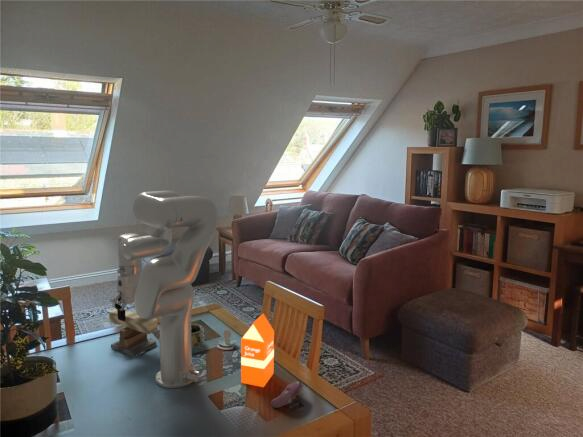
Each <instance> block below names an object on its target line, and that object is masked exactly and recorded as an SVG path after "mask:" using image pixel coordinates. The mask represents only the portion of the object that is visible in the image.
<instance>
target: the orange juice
mask: <svg viewBox="0 0 583 437" xmlns="http://www.w3.org/2000/svg"><path fill="white" fill-rule="evenodd" d="M240 343H241V344H240V345H241V346H240V347H241V348H240V354H241V356H240V378H241V379H240V382H241V383H242V384H246V385H250V386H251V385H252V386H255V387H260V388H264V387H265V386H266V384H267V383H268V382H269V380H270V379H271V377H273V375H274V369H275V368H274V365H275V362H274V361H275V360H274V358H275V330H274V329H273V327H272V325H271V323H270V322H269V320H268V319H267V317H266V315H265V314H264V313H262V314H261V315H259V317H258V318H256V319H255V320H254V321H253V322H252V325H250V327H249V329H248V330H247V331H246V332H245V333H244V334H243V336H242V337H241V339H240Z"/></svg>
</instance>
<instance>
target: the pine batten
mask: <svg viewBox="0 0 583 437" xmlns="http://www.w3.org/2000/svg"><path fill="white" fill-rule="evenodd" d="M124 310H125V316H126V320H125V321H121V320H118V314H117V309H115V308H114V309H113V310H110V311H108V319H109V321H108V322H109V323H112V324H114V325H118V326H120V327H121V326H122V327H124V328H126V327H127V328H130V329H134V330H137V331H140V332H143V333H147V335H151V334H153V333H154V332H157V331H159V328H158V327H159V326H158V318H153V319H142V318H141V317H139V316H138V315H137V313H136V312H133V311H129V310H126V309H124Z"/></svg>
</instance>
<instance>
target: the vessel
mask: <svg viewBox="0 0 583 437" xmlns="http://www.w3.org/2000/svg"><path fill="white" fill-rule="evenodd" d="M202 330H203V326H202V325H200V324H197V323H191V350H194V349H198V348H199V347H201V346H202V343H203V334H202Z"/></svg>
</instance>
